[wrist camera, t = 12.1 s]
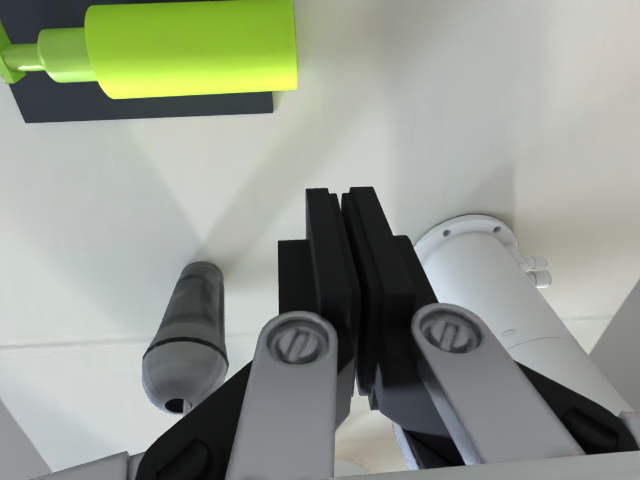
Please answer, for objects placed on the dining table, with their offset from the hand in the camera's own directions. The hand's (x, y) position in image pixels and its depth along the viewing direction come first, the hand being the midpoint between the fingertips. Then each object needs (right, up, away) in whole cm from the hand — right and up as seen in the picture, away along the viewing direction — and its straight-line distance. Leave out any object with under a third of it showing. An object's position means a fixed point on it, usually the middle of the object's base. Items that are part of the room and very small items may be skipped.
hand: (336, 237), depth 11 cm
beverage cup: (-13, -4, +35) cm, 38 cm away
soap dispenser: (-2, +14, +19) cm, 24 cm away
